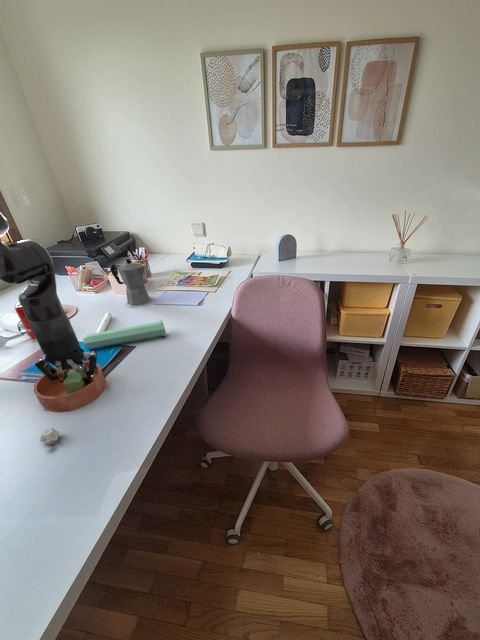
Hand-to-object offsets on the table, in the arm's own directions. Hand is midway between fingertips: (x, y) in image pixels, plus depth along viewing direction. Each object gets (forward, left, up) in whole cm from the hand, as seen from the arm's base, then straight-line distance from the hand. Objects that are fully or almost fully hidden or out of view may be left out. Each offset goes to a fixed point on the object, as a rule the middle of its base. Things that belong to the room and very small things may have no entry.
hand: (80, 387), depth 79 cm
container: (+8, +23, -1) cm, 25 cm away
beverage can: (-23, +35, -1) cm, 42 cm away
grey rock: (-2, -17, -1) cm, 17 cm away
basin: (-2, 0, -1) cm, 2 cm away
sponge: (0, 0, 0) cm, 0 cm away
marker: (-1, +36, -1) cm, 36 cm away
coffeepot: (+7, +57, -1) cm, 58 cm away
